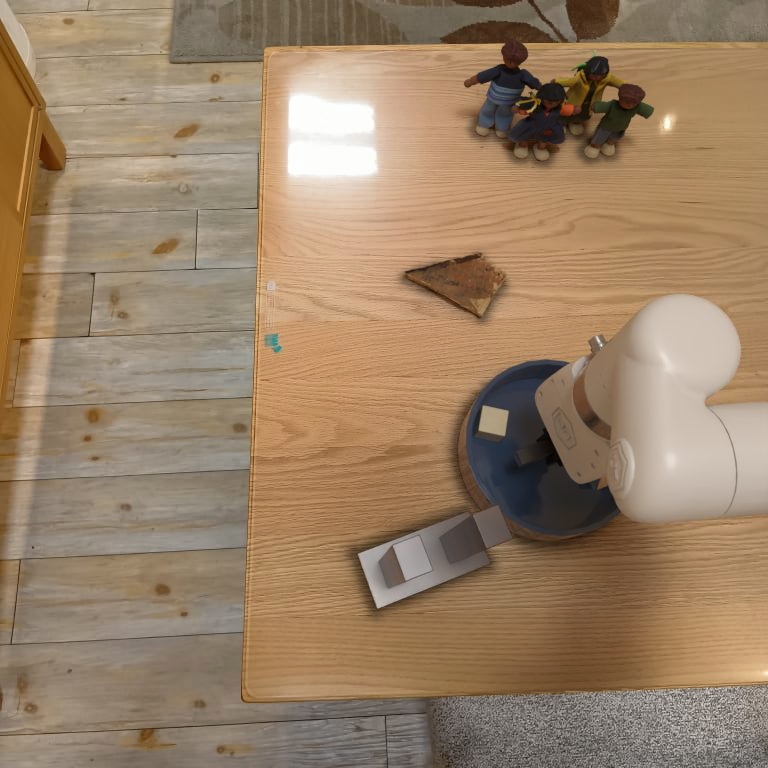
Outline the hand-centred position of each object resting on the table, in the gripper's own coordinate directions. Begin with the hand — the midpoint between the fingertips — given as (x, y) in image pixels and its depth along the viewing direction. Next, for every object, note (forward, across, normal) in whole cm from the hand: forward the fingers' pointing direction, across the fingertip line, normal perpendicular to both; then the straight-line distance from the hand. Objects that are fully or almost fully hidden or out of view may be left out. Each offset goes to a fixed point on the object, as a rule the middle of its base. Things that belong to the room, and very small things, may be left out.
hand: (554, 448), depth 73 cm
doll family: (+5, -40, +19) cm, 45 cm away
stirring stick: (-1, 0, 0) cm, 1 cm away
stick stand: (+5, +6, -17) cm, 19 cm away
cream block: (+4, -5, -4) cm, 8 cm away
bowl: (+5, 0, 0) cm, 5 cm away
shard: (+5, -22, -1) cm, 23 cm away
